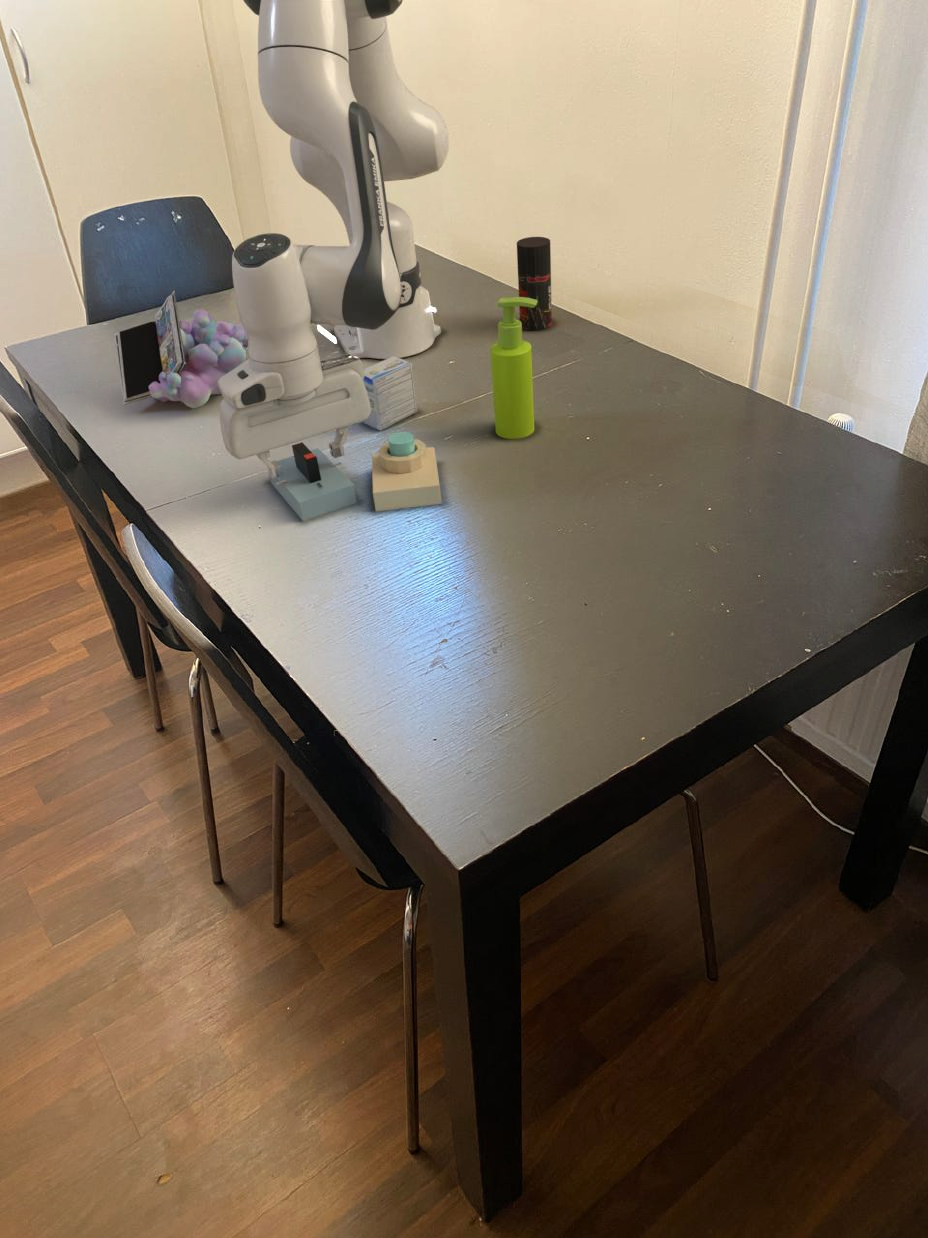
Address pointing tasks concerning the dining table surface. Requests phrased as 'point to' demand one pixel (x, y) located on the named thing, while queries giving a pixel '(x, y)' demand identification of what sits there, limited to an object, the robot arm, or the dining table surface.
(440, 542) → the dining table surface
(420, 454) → the beige nut base
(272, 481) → the switch panel
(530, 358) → the soap dispenser
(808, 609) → the dining table surface
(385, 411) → the medicine box
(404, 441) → the teal short cylinder
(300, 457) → the black rectangular block
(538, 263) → the deodorant
